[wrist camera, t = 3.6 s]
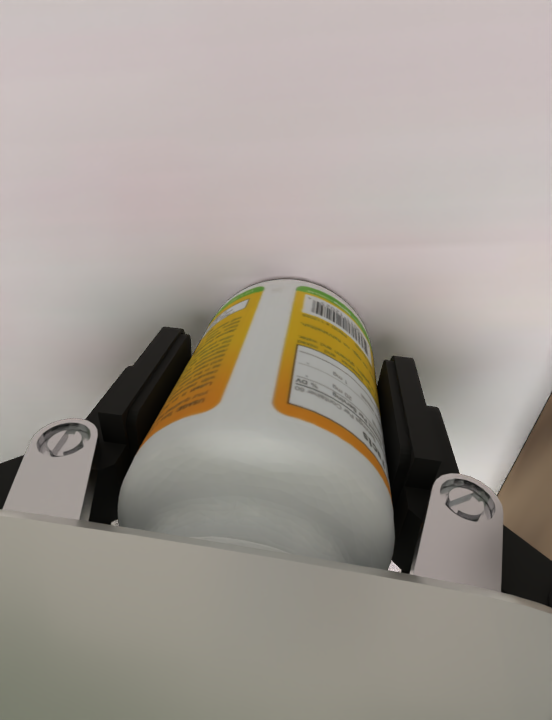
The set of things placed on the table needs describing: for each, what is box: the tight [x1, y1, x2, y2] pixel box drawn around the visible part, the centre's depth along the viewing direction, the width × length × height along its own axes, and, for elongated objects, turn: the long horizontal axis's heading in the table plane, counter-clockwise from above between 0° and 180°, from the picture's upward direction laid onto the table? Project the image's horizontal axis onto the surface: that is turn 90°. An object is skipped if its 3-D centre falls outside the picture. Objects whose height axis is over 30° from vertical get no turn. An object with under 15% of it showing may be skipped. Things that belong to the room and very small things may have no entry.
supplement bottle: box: [118, 279, 395, 570], centre depth 10 cm, size 5×5×10 cm
